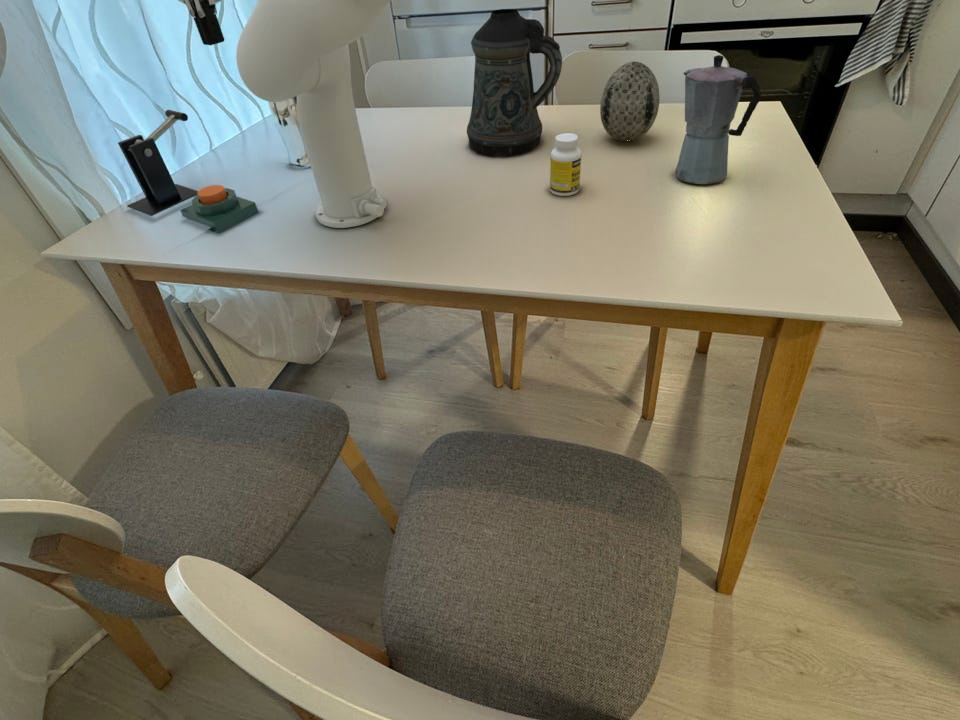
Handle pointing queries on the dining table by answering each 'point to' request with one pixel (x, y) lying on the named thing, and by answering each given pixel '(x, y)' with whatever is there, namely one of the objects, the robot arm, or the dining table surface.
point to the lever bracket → (152, 177)
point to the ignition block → (221, 212)
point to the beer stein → (509, 84)
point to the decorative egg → (630, 102)
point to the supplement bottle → (565, 165)
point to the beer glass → (290, 131)
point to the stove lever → (165, 125)
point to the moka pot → (712, 120)
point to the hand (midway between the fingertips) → (214, 42)
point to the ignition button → (212, 194)
